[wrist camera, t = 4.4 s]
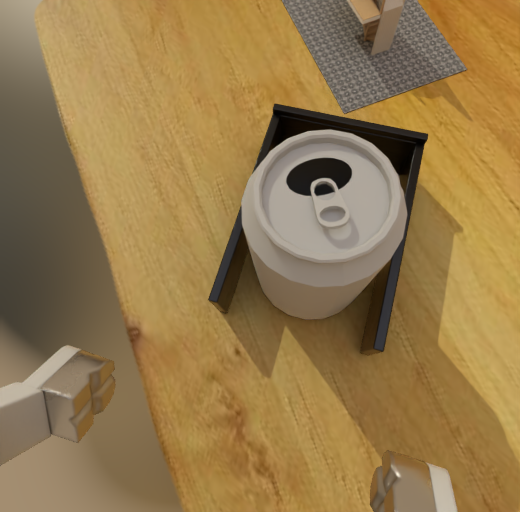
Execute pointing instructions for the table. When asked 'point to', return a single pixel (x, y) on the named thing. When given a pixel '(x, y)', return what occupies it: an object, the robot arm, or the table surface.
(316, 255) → the can
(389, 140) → the frame
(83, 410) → the robot arm
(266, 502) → the table surface
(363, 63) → the architectural model
